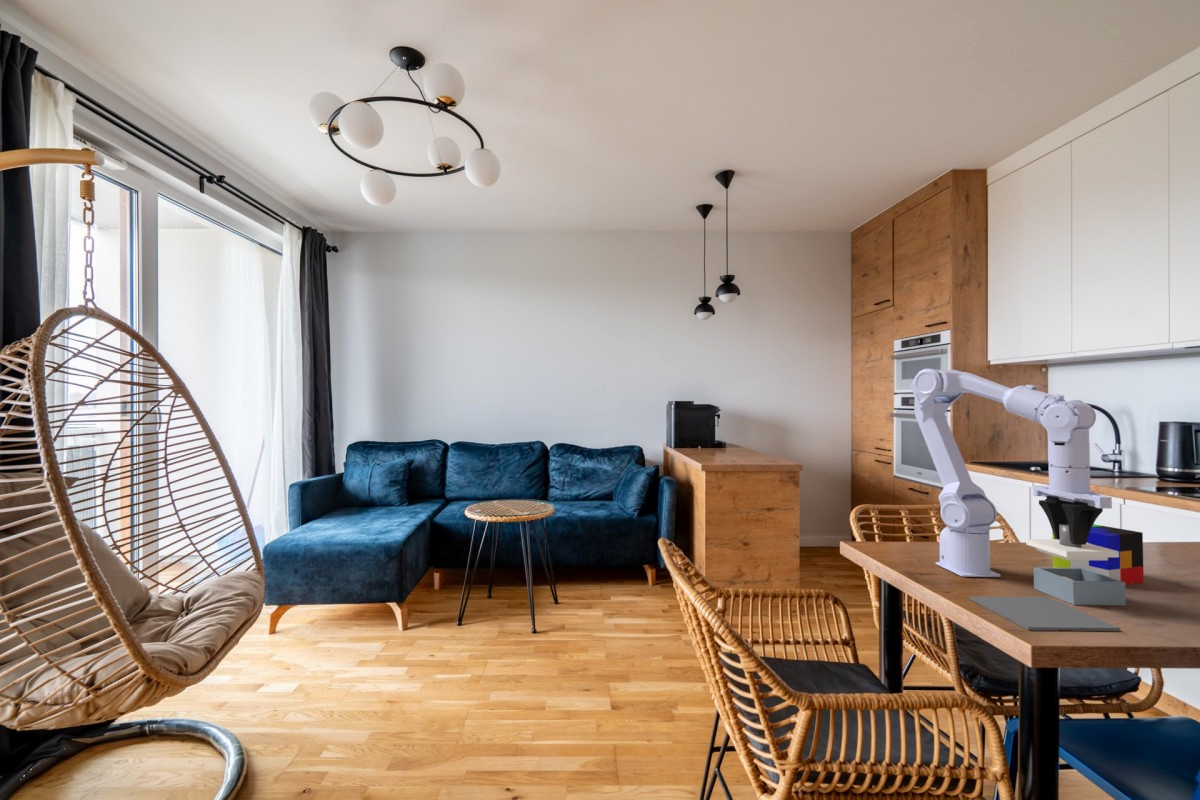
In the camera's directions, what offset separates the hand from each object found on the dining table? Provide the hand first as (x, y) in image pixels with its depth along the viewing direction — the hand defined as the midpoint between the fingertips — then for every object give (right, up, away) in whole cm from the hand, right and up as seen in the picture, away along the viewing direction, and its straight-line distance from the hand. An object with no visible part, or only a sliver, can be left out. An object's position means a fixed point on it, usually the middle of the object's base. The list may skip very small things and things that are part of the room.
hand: (1070, 541), depth 99 cm
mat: (-12, -10, -7) cm, 17 cm away
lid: (0, -2, 0) cm, 2 cm away
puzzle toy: (+17, -11, +13) cm, 24 cm away
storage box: (+3, -10, +1) cm, 11 cm away
